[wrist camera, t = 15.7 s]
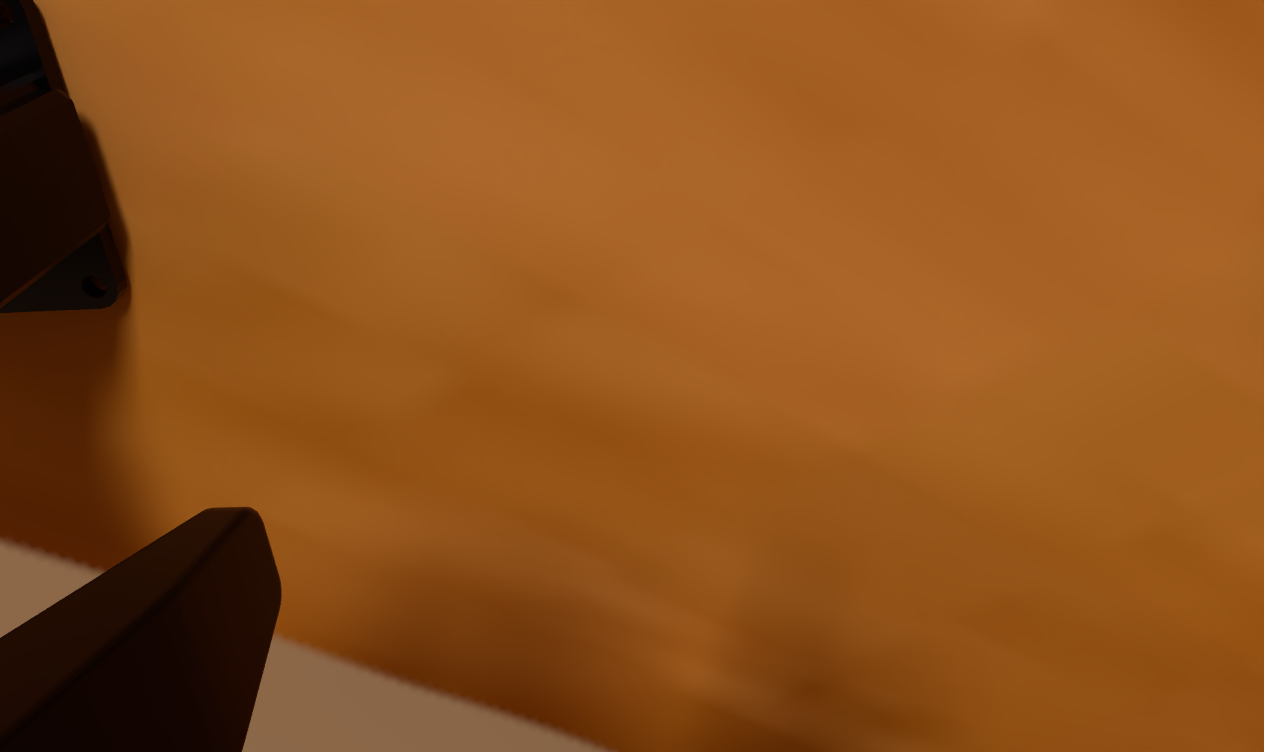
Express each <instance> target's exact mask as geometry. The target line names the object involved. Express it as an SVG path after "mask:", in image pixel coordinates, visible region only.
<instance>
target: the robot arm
mask: <svg viewBox="0 0 1264 752" xmlns="http://www.w3.org/2000/svg"><path fill="white" fill-rule="evenodd" d="M2 1H3V2H4V3H6V4H7V5H8V6H9V8H10V9H11V11H12V13H13V21H12V23H10V22H8V21H6V20H5V19H4V18H2V16H1V15H0V313H9V312H32V311H55V310H79V309H102V308H106V307H110V306H111V305H112V304H113V303H114V302H115V301H117V300H118V299H119V298H120V297H121V296H122V295H123V294H124V293H125V290H126V287H127V284H126V277H125V274H124V271H123V268H122V265H121V262H120V259H119V256H118V253H117V250H116V247H115V244H114V241H113V238H112V235H111V232H110V228H109V225H108V221H109V219H110V213H109V210H108V207H107V204H106V201H105V198H104V195H103V192H102V188H101V185H100V182H99V179H98V176H97V173H96V170H95V167H94V164H93V161H92V158H91V155H90V152H89V149H88V146H87V143H86V140H85V137H84V133H83V130H82V127H81V124H80V121H79V118H78V115H77V112H76V109H75V106H74V103H73V101H72V100H71V99H70V98H69V97H68V96H67V95H66V94H65V92H64V89H63V86H62V83H61V80H60V77H59V74H58V71H57V68H56V65H55V62H54V59H53V56H52V53H51V50H50V47H49V43H48V40H47V37H46V34H45V31H44V28H43V25H42V22H41V19H40V16H39V13H38V10H37V7H36V5H35V3H34V2H33V0H2ZM91 276H95V277H98V278H99V279H100V280H102V281H103V283H104V284H105V286H106V290H103V289H100V288H98V287H97V286H96V285H95V284H94V283H93V281H92V280H91ZM280 605H281V582H280V577H279V574H278V570H277V567H276V564H275V560H274V557H273V553H272V550H271V547H270V543H269V540H268V537H267V533H266V530H265V526H264V523H263V521H262V518H261V516H260V515H259V514H258V512H257V511H255V510H254V509H252V508H250V507H223V508H209V509H206V510H204V511H202V512H200V513H199V514H197V515H195V516H194V517H192V518H191V519H189V520H188V521H186V522H184V523H183V524H181V525H180V526H178V527H176V528H175V529H173V530H172V531H170V532H168V533H167V534H165V535H164V536H162V537H160V538H159V539H157V540H156V541H154V542H152V543H151V544H149V545H148V546H146V547H144V548H143V549H141V550H140V551H138V552H137V553H135V554H133V555H132V556H130V557H129V558H127V559H125V560H124V561H122V562H121V563H119V564H117V565H116V566H114V567H113V568H111V569H109V570H108V571H106V572H105V573H103V574H101V575H100V576H98V577H97V578H95V579H94V580H92V581H90V582H89V583H87V584H86V585H84V586H82V587H81V588H79V589H78V590H76V591H74V592H73V593H71V594H70V595H68V596H66V597H65V598H63V599H62V600H60V601H58V602H57V603H55V604H54V605H52V606H51V607H49V608H47V609H46V610H44V611H42V612H41V613H39V614H38V615H36V616H35V617H33V618H31V619H30V620H28V621H27V622H25V623H23V624H22V625H20V626H19V627H17V628H15V629H14V630H12V631H11V632H9V633H7V634H6V635H4V636H3V637H1V638H0V752H242V749H243V746H244V742H245V739H246V735H247V731H248V728H249V724H250V720H251V716H252V712H253V709H254V705H255V701H256V697H257V693H258V690H259V685H260V682H261V678H262V674H263V671H264V667H265V663H266V659H267V655H268V652H269V648H270V644H271V640H272V636H273V633H274V629H275V625H276V621H277V617H278V614H279V610H280Z"/></svg>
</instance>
